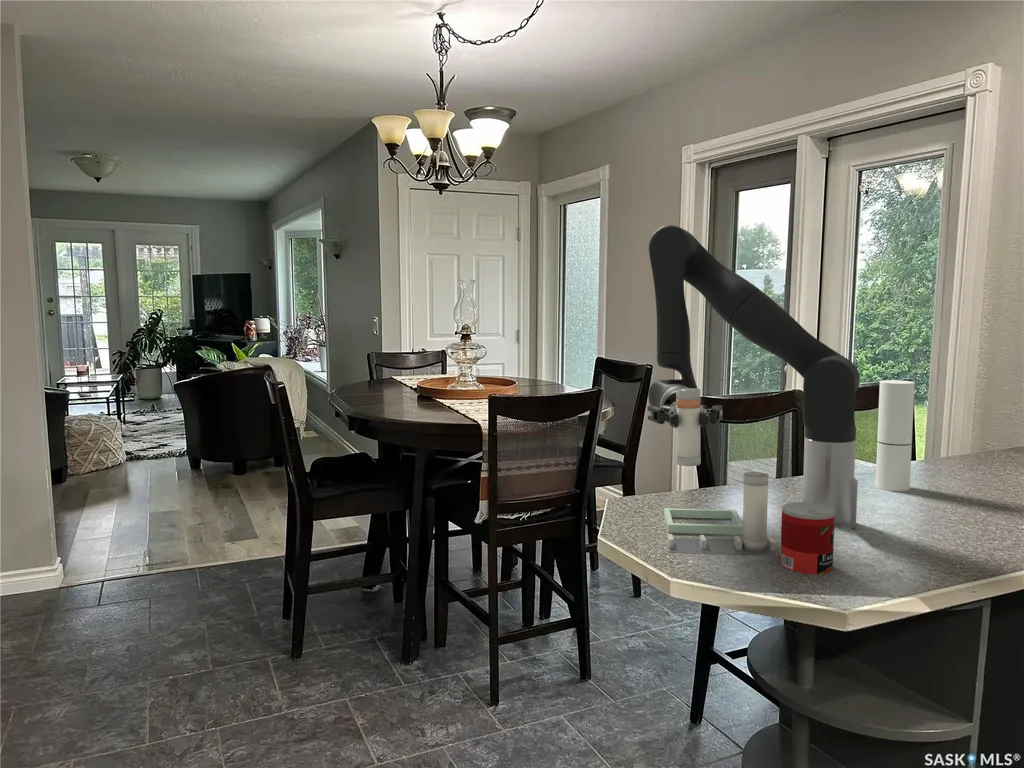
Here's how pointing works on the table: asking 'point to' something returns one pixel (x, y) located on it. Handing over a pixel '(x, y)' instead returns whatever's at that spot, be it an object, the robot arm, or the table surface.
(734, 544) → the clip block
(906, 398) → the cylindrical container
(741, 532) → the tray
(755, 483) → the plain fuse
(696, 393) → the cylinder
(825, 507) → the canned food
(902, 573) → the table surface
